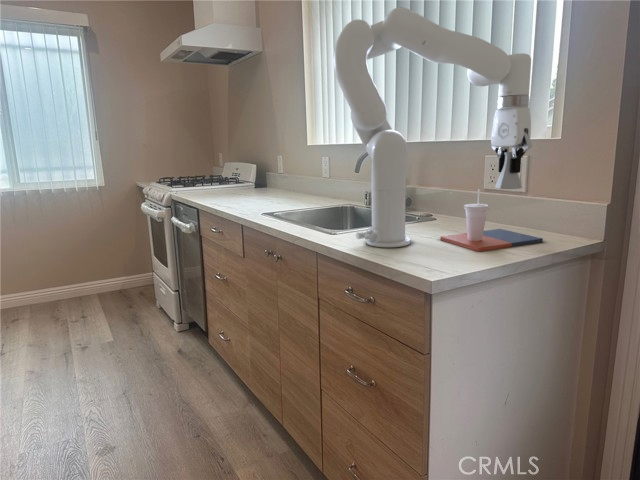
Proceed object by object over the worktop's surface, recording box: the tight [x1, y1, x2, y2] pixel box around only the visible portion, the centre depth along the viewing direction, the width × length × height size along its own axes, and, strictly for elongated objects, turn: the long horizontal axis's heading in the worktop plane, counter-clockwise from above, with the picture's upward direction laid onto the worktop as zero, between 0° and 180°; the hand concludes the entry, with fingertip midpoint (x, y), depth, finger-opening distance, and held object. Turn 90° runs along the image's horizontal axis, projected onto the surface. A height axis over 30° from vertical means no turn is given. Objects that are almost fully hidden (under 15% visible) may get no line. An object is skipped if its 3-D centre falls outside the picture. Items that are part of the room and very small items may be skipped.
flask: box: [494, 151, 523, 190], centre depth 120 cm, size 7×7×10 cm
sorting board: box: [440, 228, 544, 252], centre depth 122 cm, size 22×16×1 cm
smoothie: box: [463, 188, 489, 241], centre depth 119 cm, size 6×6×14 cm
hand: (509, 171), depth 120 cm, fingers closed on flask, 3 cm apart
